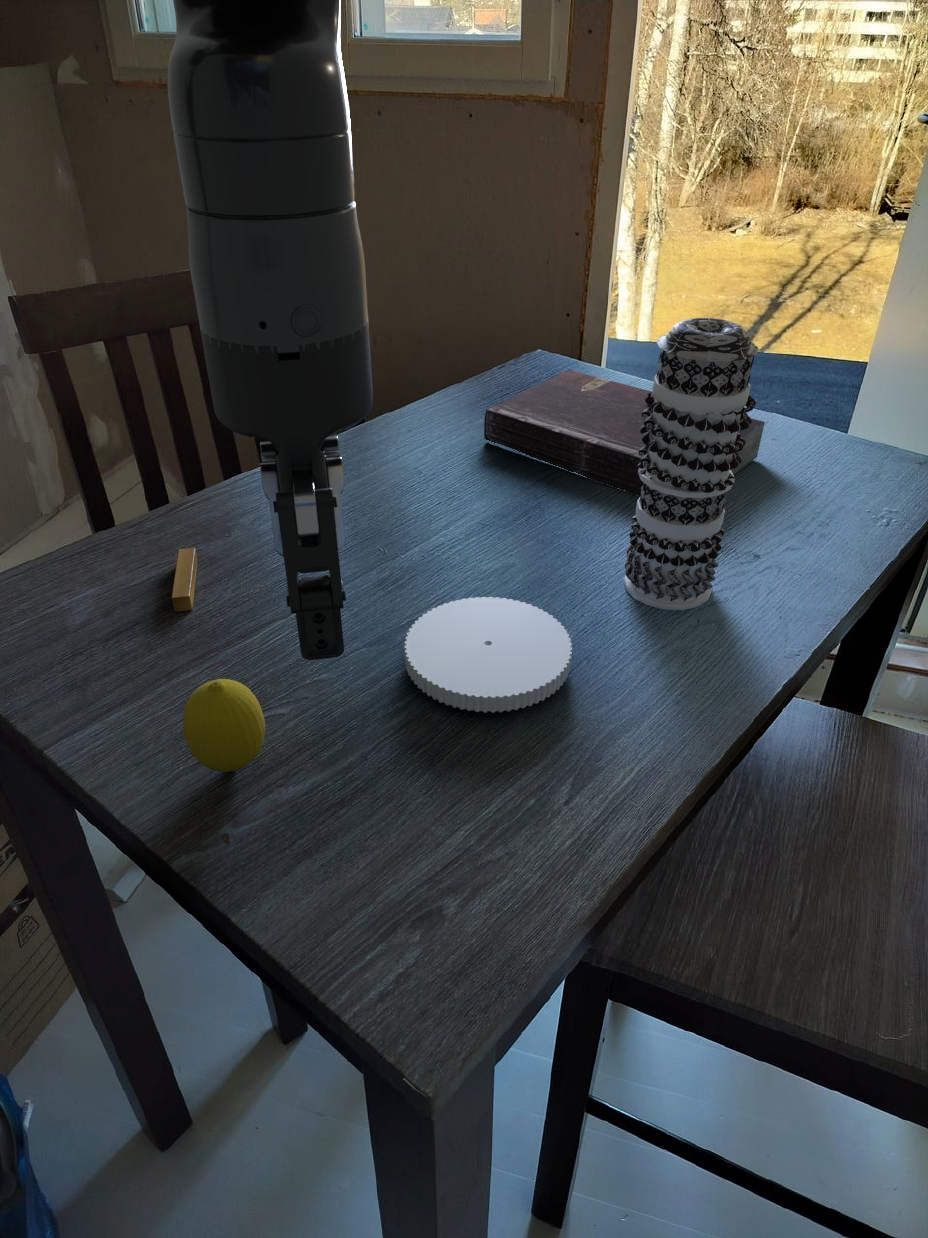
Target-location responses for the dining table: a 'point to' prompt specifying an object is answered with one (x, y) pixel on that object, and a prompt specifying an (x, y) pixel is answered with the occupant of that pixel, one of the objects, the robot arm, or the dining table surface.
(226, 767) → the lemon
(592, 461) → the hardback book
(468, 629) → the white gear wheel
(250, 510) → the dining table surface
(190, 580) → the block
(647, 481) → the decorative candle
